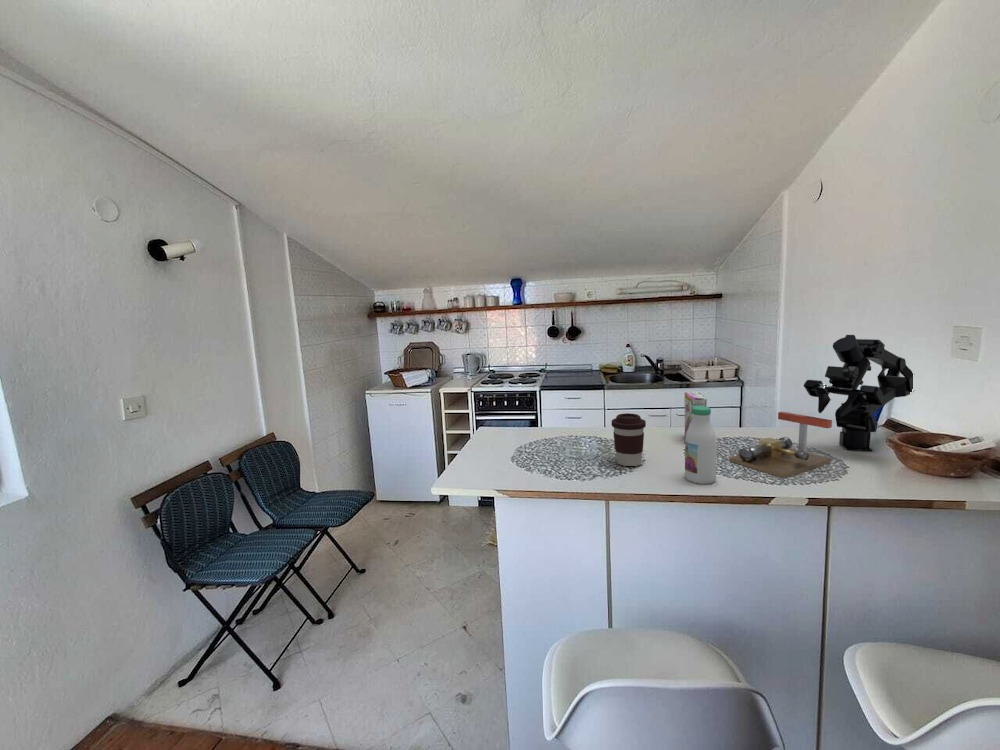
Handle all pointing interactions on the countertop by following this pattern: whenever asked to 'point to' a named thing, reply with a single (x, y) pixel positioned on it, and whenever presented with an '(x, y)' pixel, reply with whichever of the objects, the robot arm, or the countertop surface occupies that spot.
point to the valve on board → (777, 458)
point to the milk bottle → (700, 448)
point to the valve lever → (804, 429)
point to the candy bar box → (692, 401)
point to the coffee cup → (628, 438)
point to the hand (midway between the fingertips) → (829, 414)
